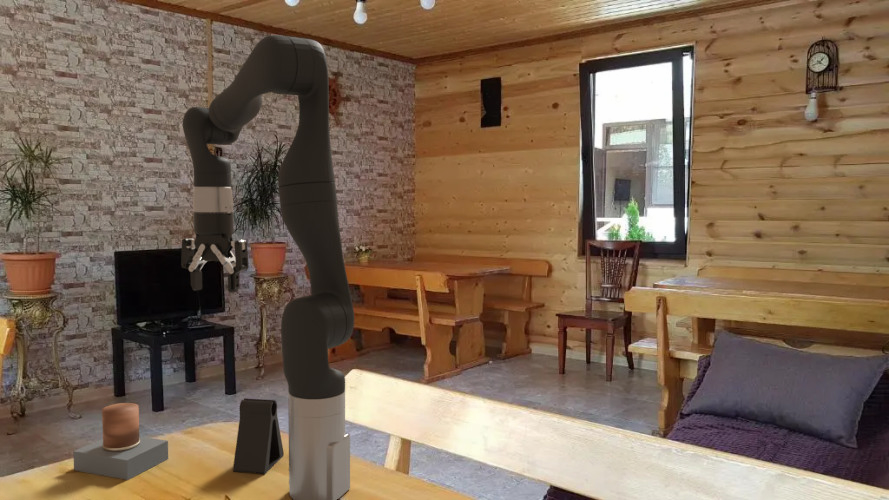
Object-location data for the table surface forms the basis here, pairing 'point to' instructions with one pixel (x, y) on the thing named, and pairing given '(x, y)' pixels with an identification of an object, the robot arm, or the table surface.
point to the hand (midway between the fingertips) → (215, 291)
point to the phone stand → (257, 437)
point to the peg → (120, 427)
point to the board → (121, 458)
